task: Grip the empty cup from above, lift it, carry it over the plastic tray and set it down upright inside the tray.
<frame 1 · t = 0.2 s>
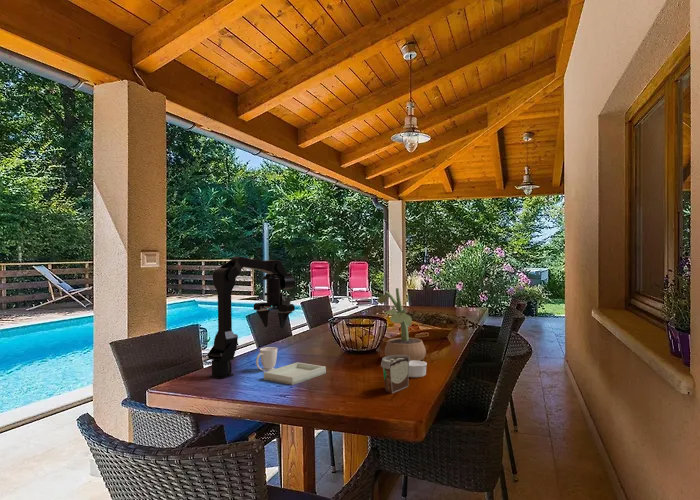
hand: (274, 327, 197), 14 cm above the table, tool pointing down, fingers open, 9 cm apart
tray: (295, 376, 173), on the table
food container: (392, 389, 155), on the table
cup: (266, 370, 183), on the table
potted plant: (401, 361, 194), on the table
ramekin: (414, 375, 171), on the table
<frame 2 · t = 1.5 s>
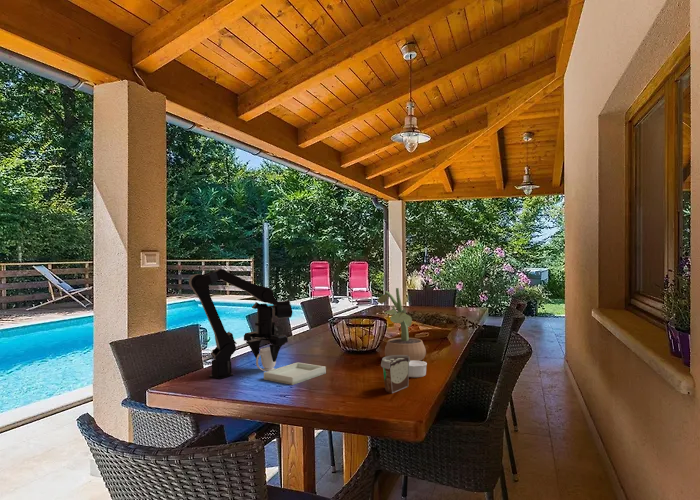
hand: (265, 360, 183), 4 cm above the table, tool pointing down, fingers open, 9 cm apart
nothing on the table moved.
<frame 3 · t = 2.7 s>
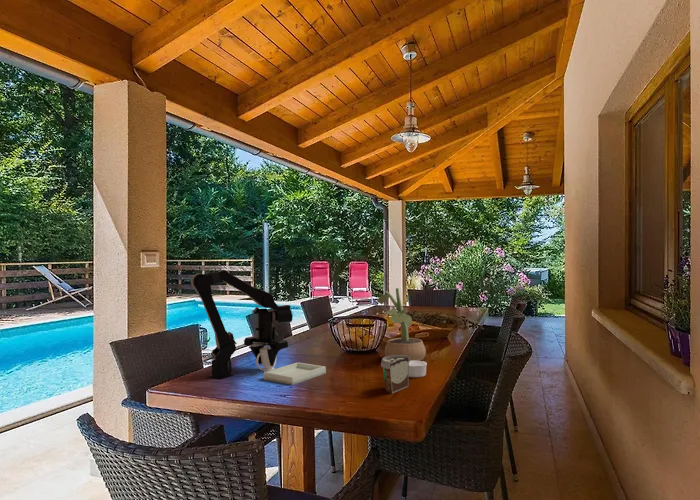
hand: (266, 365, 183), 2 cm above the table, tool pointing down, fingers closed on cup, 6 cm apart
cup: (266, 370, 183), on the table, touching gripper
everything else where it was.
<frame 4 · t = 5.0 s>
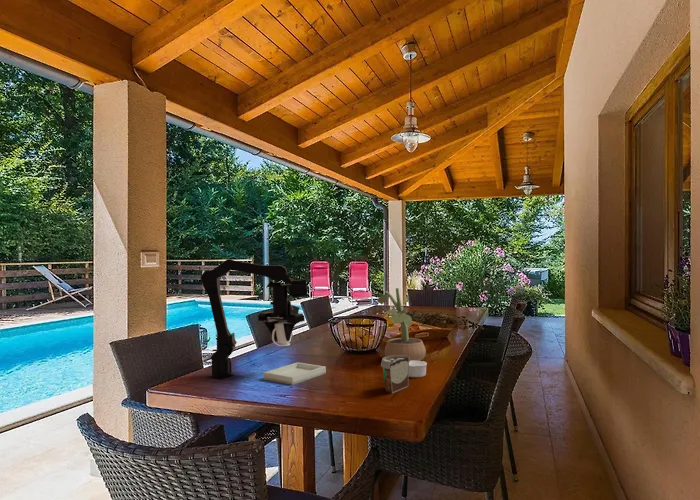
hand: (281, 340, 178), 12 cm above the table, tool pointing down, fingers closed on cup, 6 cm apart
cup: (281, 346, 178), point 10 cm above the table, touching gripper
everything else where it was.
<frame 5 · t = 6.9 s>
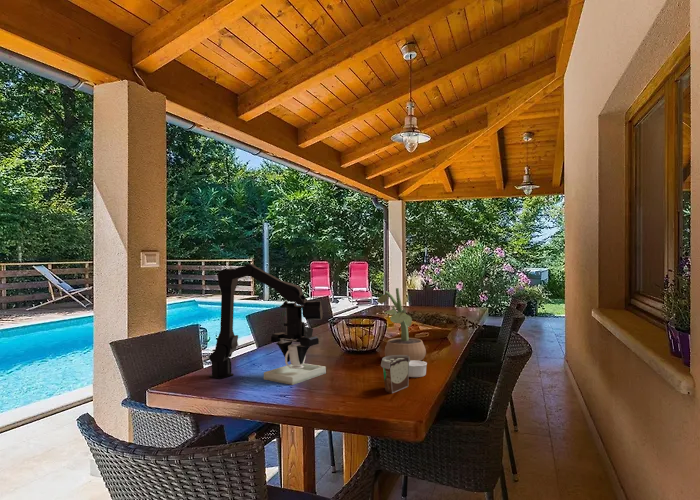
hand: (294, 362, 173), 5 cm above the table, tool pointing down, fingers closed on cup, 6 cm apart
cup: (295, 368, 173), point 3 cm above the table, touching gripper
everything else where it was.
when the fingers open (5 cm above the table, at t = 7.6 s): cup drops 2 cm, resting on tray.
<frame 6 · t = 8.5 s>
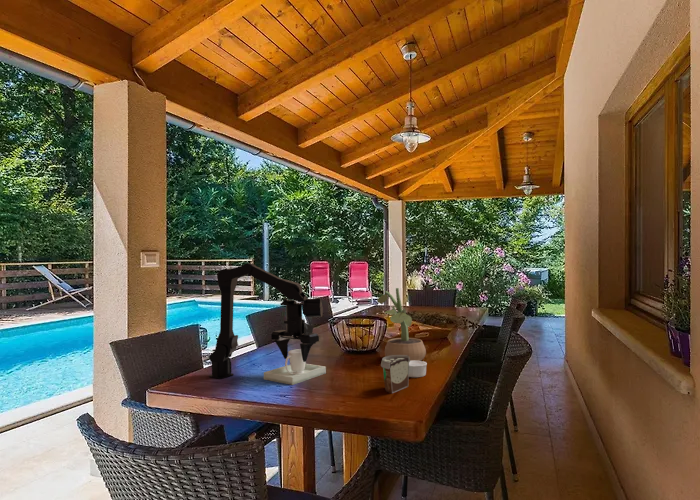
hand: (295, 360, 173), 6 cm above the table, tool pointing down, fingers open, 9 cm apart
cup: (295, 374, 173), point 1 cm above the table, touching tray
everything else where it was.
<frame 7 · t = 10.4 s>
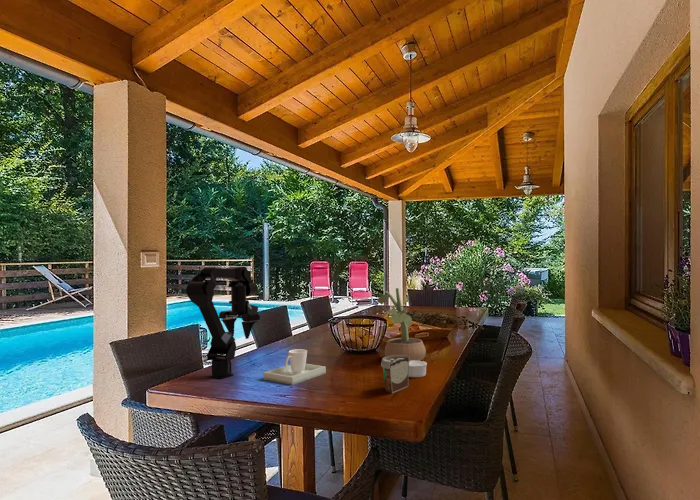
hand: (239, 337, 188), 12 cm above the table, tool pointing down, fingers open, 9 cm apart
nothing on the table moved.
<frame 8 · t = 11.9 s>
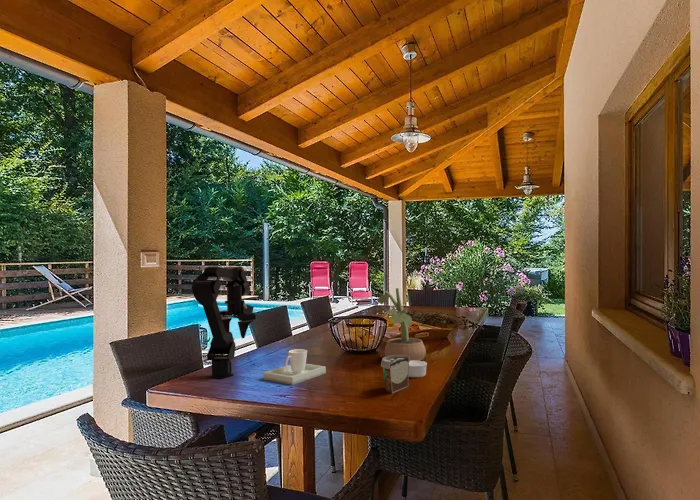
hand: (235, 337, 189), 12 cm above the table, tool pointing down, fingers open, 9 cm apart
nothing on the table moved.
at the end: cup inside the target area on the tray (0.4 cm from its centre), point 0.6 cm above the tray's base; cup tilted 0°; the gripper is holding nothing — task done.
